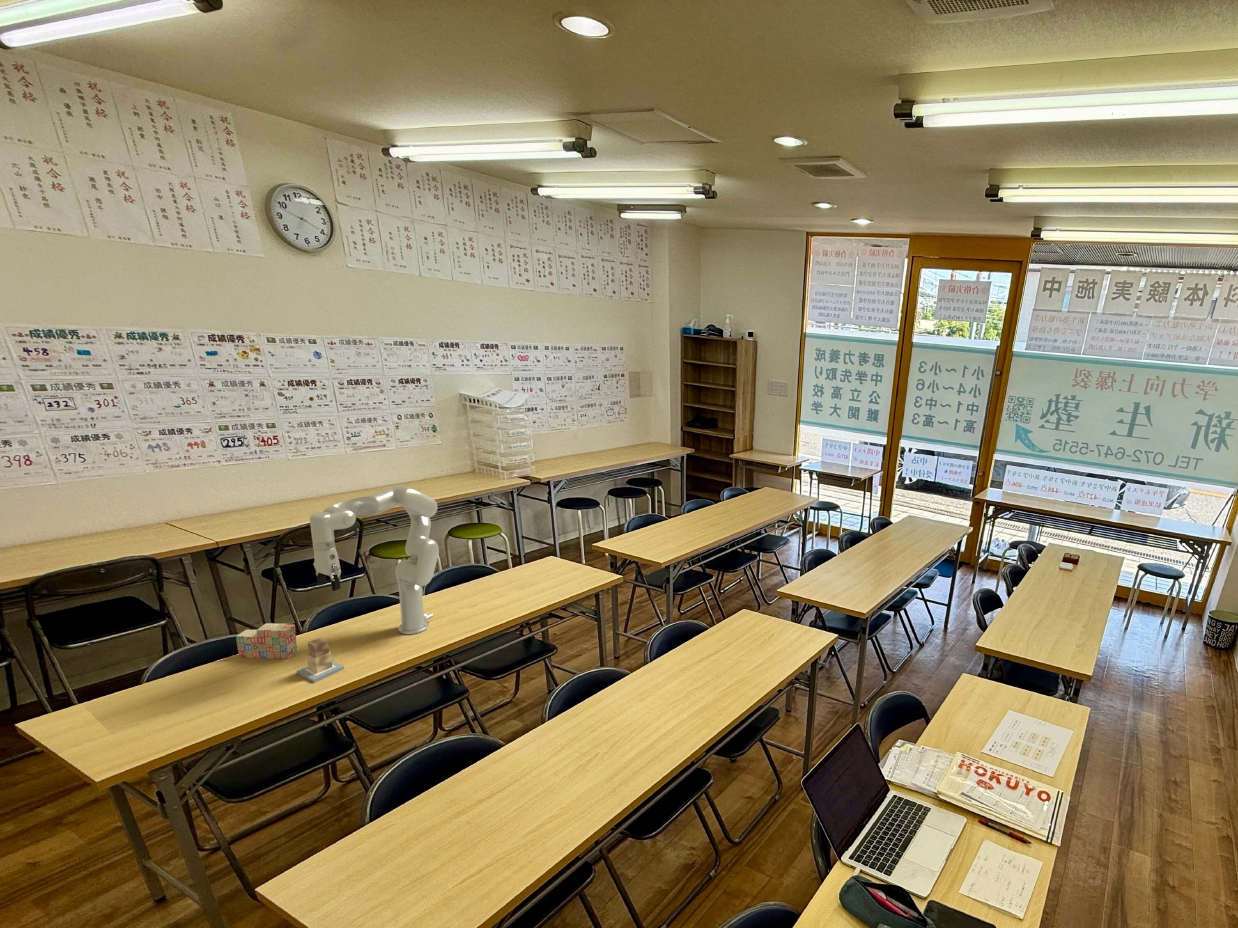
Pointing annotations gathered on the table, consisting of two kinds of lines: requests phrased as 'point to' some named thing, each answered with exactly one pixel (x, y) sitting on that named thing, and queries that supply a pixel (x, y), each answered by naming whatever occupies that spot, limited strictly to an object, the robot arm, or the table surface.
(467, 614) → the table surface
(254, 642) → the stack of blocks
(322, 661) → the oak block
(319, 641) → the walnut cube
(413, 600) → the robot arm
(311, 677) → the base board
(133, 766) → the table surface
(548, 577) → the table surface
